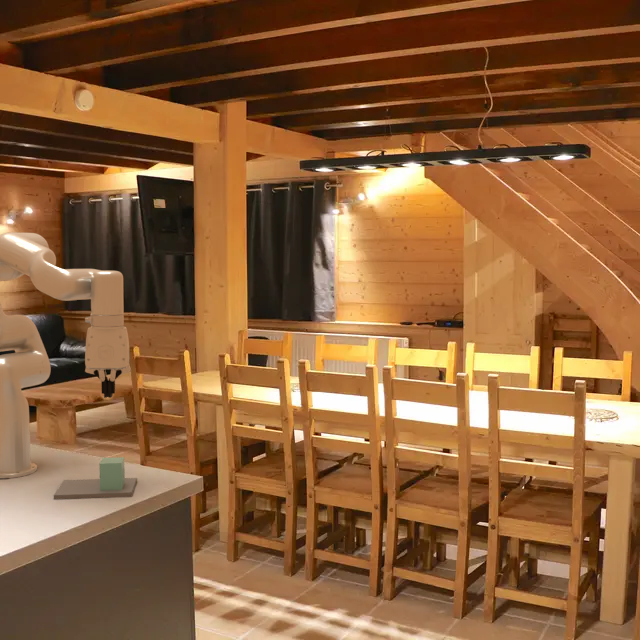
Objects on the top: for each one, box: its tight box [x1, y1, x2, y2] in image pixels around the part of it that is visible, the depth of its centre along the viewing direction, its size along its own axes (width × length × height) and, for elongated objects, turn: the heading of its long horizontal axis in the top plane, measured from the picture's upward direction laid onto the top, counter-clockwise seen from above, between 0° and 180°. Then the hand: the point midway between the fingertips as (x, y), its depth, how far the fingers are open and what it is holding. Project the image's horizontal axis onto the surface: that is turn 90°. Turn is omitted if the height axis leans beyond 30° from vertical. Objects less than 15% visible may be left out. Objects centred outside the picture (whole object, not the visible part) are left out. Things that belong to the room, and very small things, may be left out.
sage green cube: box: [98, 456, 126, 490], centre depth 186 cm, size 5×5×7 cm
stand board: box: [53, 477, 138, 500], centre depth 187 cm, size 18×12×1 cm, turn 97°
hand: (108, 396), depth 186 cm, fingers closed
